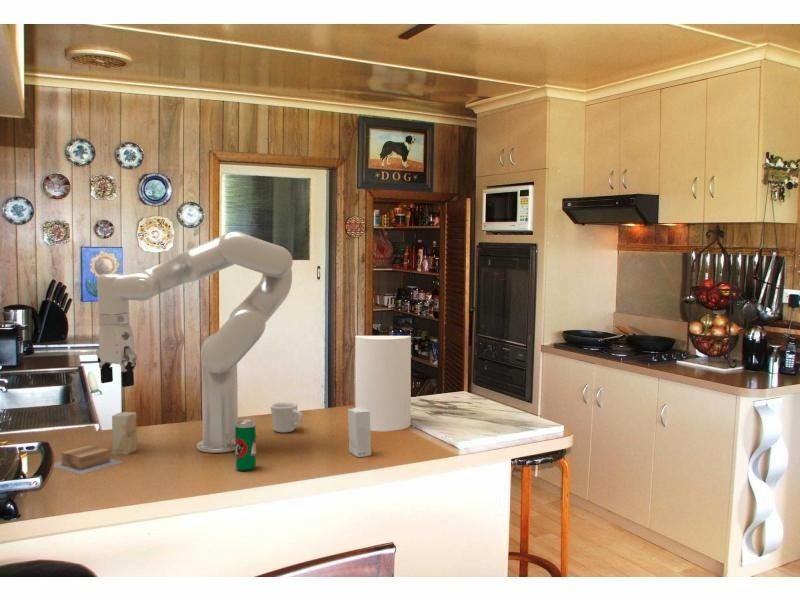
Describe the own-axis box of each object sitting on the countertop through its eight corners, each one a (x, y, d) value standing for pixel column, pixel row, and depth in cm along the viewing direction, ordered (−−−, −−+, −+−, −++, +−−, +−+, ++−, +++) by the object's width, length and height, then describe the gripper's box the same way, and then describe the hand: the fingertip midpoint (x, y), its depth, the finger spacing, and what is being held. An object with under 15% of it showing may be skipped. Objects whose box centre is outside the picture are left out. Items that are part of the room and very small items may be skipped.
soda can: (256, 471, 174) (255, 423, 174) (235, 472, 173) (234, 424, 173) (256, 465, 179) (255, 418, 179) (235, 466, 178) (235, 419, 177)
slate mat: (124, 465, 179) (124, 462, 179) (80, 477, 169) (80, 474, 169) (91, 456, 187) (91, 453, 187) (47, 467, 177) (47, 464, 177)
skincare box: (371, 455, 188) (371, 410, 187) (356, 458, 186) (356, 412, 185) (362, 450, 193) (362, 406, 192) (347, 452, 191) (347, 407, 190)
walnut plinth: (109, 462, 179) (109, 449, 179) (80, 470, 172) (80, 457, 172) (91, 456, 184) (90, 444, 183) (61, 464, 177) (61, 452, 177)
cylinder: (410, 431, 213) (410, 339, 211) (353, 431, 213) (353, 339, 211) (410, 417, 230) (410, 332, 228) (357, 417, 230) (357, 332, 228)
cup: (310, 431, 213) (310, 405, 213) (292, 436, 206) (292, 410, 206) (283, 426, 219) (283, 400, 218) (265, 431, 212) (265, 405, 212)
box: (126, 457, 186) (125, 416, 185) (112, 456, 186) (110, 415, 186) (137, 452, 191) (136, 411, 190) (123, 451, 192) (122, 411, 191)
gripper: (146, 320, 184) (149, 385, 185) (109, 317, 194) (111, 378, 196) (120, 323, 178) (123, 390, 179) (83, 320, 188) (86, 383, 190)
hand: (117, 384), depth 187 cm, fingers open, 9 cm apart
